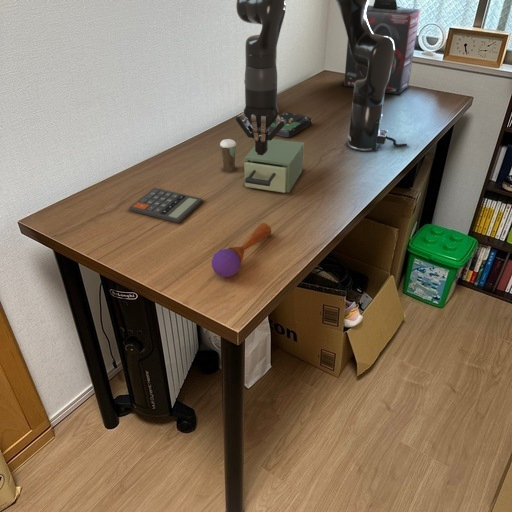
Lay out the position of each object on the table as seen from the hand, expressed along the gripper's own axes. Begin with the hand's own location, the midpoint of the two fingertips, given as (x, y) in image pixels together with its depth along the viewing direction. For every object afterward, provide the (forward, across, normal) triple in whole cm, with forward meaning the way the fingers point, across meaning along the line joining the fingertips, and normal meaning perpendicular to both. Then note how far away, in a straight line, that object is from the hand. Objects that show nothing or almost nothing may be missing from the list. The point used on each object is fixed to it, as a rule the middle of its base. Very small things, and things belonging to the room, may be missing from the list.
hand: (261, 153), depth 124 cm
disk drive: (+12, +7, -48) cm, 50 cm away
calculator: (+12, +22, +13) cm, 28 cm away
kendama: (+13, -5, +27) cm, 30 cm away
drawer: (+11, 0, -6) cm, 13 cm away
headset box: (+12, -15, -104) cm, 105 cm away
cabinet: (+12, 0, -12) cm, 17 cm away
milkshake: (+12, +14, -12) cm, 22 cm away
